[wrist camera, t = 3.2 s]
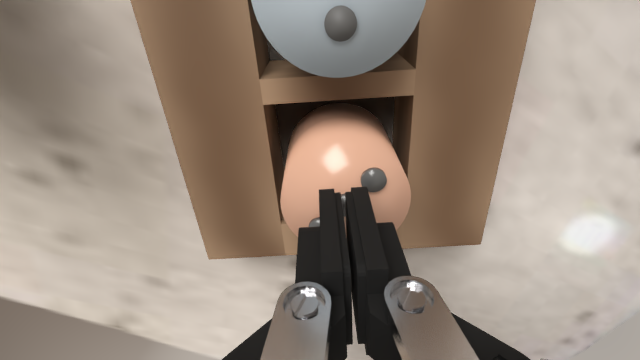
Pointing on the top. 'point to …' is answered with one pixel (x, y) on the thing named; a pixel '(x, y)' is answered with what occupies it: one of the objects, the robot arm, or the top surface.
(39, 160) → the top surface
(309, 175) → the three-pip button
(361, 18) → the two-pip button
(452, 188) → the wooden three-slot caddy
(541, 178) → the top surface
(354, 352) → the top surface
